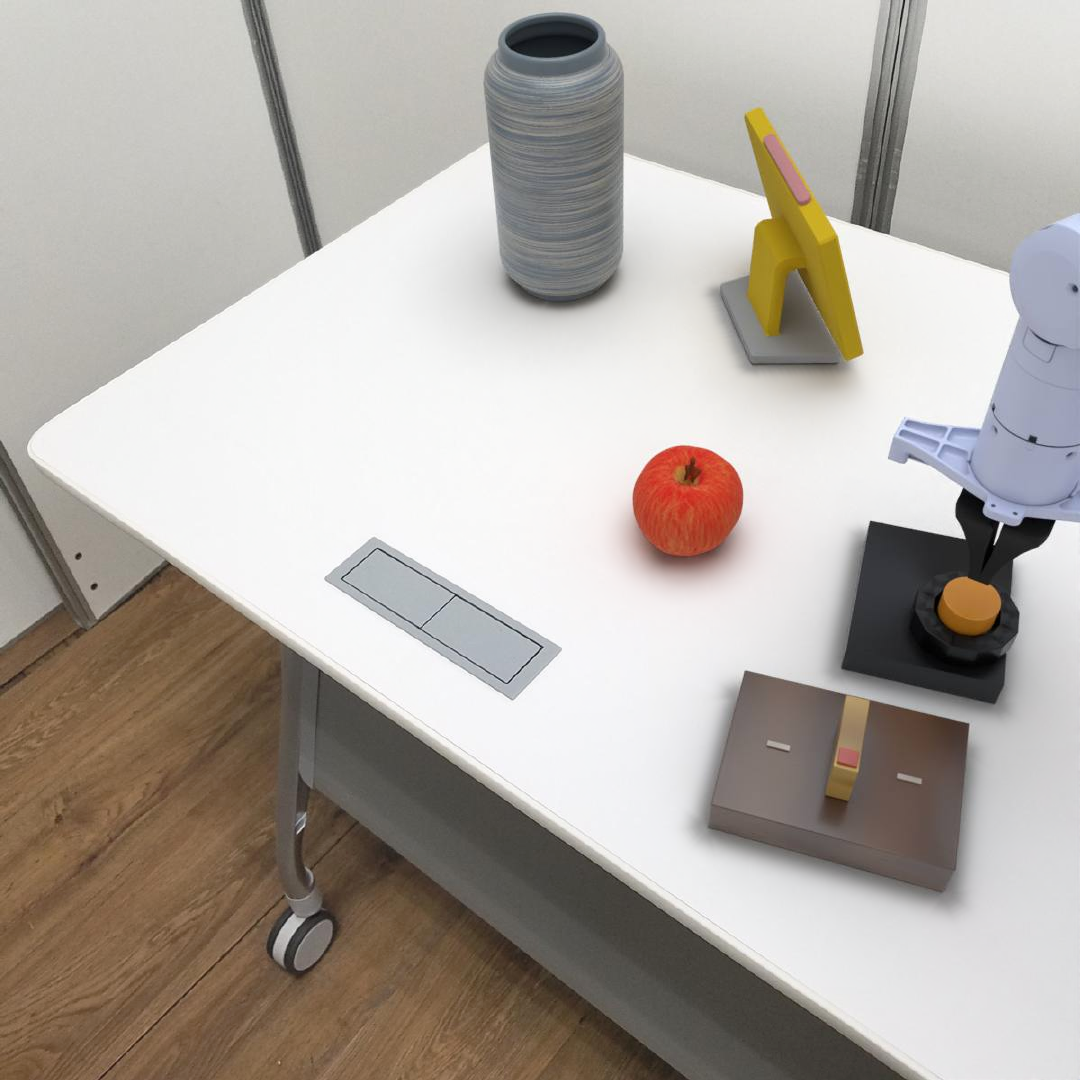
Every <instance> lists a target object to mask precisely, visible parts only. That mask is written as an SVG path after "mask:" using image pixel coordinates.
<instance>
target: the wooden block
mask: <svg viewBox="0 0 1080 1080" xmlns="http://www.w3.org/2000/svg"><path fill="white" fill-rule="evenodd" d="M849 695H850V694H847V695H846V698H845V701H844V705H843V708H842V712H841V715H840V719H839V722H838V726H837V731H836V736H835V742H834V747H833V753H832V758H831V764H830V769H829V775H828V780H827V786H826V791H825V795H827V796H831V797H834V798H838V799H842V800H846V801H849V799H850V796H851V793H852V790H853V787H854V784H855V781H856V778H857V775H858V772H859V765H860V759H861V753H862V747H863V741H864V735H865V729H866V723H867V717H868V711H869V705H870V701H869V700H870V699H868V700H866V699H867V698H864V699H861V698H862V697H860V698H857V697H858V696H856V697H853V696H854V695H851V696H849Z"/></svg>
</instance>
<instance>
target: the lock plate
mask: <svg viewBox="0 0 1080 1080" xmlns="http://www.w3.org/2000/svg"><path fill="white" fill-rule="evenodd" d="M846 695H849V696H853V697H857V698H861V699H866V700H869V701H870V705H869V711H868V717H867V723H866V729H865V735H864V741H863V747H862V753H861V759H860V765H859V772H858V775H857V778H856V781H855V784H854V787H853V790H852V793H851V796H850V799H849V801H846V800H842V799H838V798H834V797H831V796H827V795H825V791H826V786H827V780H828V775H829V769H830V764H831V758H832V753H833V747H834V742H835V736H836V731H837V726H838V722H839V719H840V715H841V712H842V708H843V705H844V701H845V698H846ZM729 726H730V728H729V731H728V734H727V738H726V742H725V746H724V750H723V754H722V758H721V762H720V766H719V770H718V774H717V778H716V781H715V786H714V790H713V794H712V798H711V801H710V807H709V813H708V821H707V827H708V828H710V829H714V830H717V831H721V832H725V833H728V834H732V835H735V836H739V837H742V838H746V839H749V840H750V839H751V840H752V841H753V840H754V841H757V842H760V843H765V844H768V845H772V846H775V847H778V848H783V849H787V850H789V851H793V852H797V853H800V854H804V855H807V856H808V855H809V856H812V857H815V858H818V859H822V860H826V861H830V862H833V863H837V864H839V865H845V866H848V867H851V868H856V869H859V870H862V871H866V872H870V873H873V874H877V875H881V876H884V877H888V878H891V879H895V880H899V881H902V882H906V883H910V884H912V885H917V886H921V887H924V888H927V889H931V890H935V891H939V892H942V893H943V892H945V890H946V889H947V887H948V885H949V884H950V881H951V880H952V878H953V877H954V874H955V872H956V870H957V861H958V852H959V851H958V849H959V839H960V829H961V818H962V809H963V797H964V787H965V776H966V775H965V774H966V766H967V765H966V764H967V755H968V745H969V735H970V723H969V722H966V721H965V722H964V721H961V720H956V719H952V718H947V717H943V716H940V715H935V714H931V713H927V712H923V711H918V710H914V709H910V708H906V707H902V706H897V705H893V704H889V703H885V702H882V701H877V700H872V699H868V698H864V697H859V696H856V695H851V694H846V693H843V692H838V691H834V690H830V689H825V688H822V687H818V686H814V685H809V684H804V683H801V682H797V681H792V680H788V679H784V678H779V677H775V676H771V675H767V674H763V673H758V672H755V671H751V670H746V669H745V670H744V672H743V676H742V680H741V684H740V688H739V692H738V696H737V699H736V703H735V706H734V711H733V715H732V720H731V722H730V725H729Z"/></svg>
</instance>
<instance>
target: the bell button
mask: <svg viewBox="0 0 1080 1080" xmlns="http://www.w3.org/2000/svg"><path fill="white" fill-rule="evenodd" d="M1000 608H1001V599H1000V596H999V594H998V592H997V591H996V590H995V589H994V587H992V586H991V585H985V584H982V583H979V582H977V581H974V580H972V579H969V578H968V577H959V578H956V579H953V580H952V581H950V582H949V583H948V584H947V585H946V586H945V588H944V591H943V593H942V596H941V599H940V602H939V604H938V614H939V617H940V619H941V621H942V622H943V623H944V624H945V625H946V626H947V627H948V628H949V629H951V630H952V631H954V632H956V633H959V634H962V635H967V636H976V635H981V634H983V633H985V632H987V631H988V630H990V629H991V628H992V626H993V624H994V622H995V620H996V617H997V615H998V613H999V610H1000Z"/></svg>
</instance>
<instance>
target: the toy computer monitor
mask: <svg viewBox="0 0 1080 1080" xmlns="http://www.w3.org/2000/svg"><path fill="white" fill-rule="evenodd" d="M743 119H744V122H745V123H744V124H745V126H746V129H747V133H748V137H749V141H750V144H751V148H752V151H753V155H754V159H755V162H756V165H757V170H758V173H759V175H760V176H759V177H760V180H761V184H762V188H763V190H764V191H763V192H764V194H765V199H766V202H767V205H768V209H769V212H770V216H771V218H764V219H762V220H761V221H759V222H758V223H757V224H756V225H755V227H754V232H753V241H752V249H751V260H750V269H749V275H746V276H743V277H739V278H735V279H733V280H728V281H725V282H722V283H721V284H720V286H719V287H720V288H719V294H720V295H721V298H722V300H723V303H724V304H725V307H726V309H727V312H728V314H729V316H730V318H731V320H732V323H733V324H734V327H735V329H736V332H737V334H738V336H739V339H740V341H741V343H742V346H743V348H744V350H745V353H746V355H747V357H748V359H749V361H750V363H751V364H838V363H839V362H840V359H841V356H842V358H843V359H844V360H845V361H846V362H849V361H852V360H854V359H856V358H859V357H861V356H863V355H864V353H865V352H864V348H863V343H862V338H861V334H860V330H859V329H860V328H859V325H858V321H857V316H856V311H855V307H854V303H853V298H852V293H851V289H850V285H849V280H848V276H847V271H846V267H845V262H844V257H843V254H842V249H841V244H840V240H839V235H838V233H837V232H836V230H835V229H834V227H833V225H832V223H831V222H830V220H829V219H828V217H827V215H826V213H825V212H824V210H823V209H822V207H821V205H820V203H819V202H818V200H817V198H816V197H815V195H814V194H813V191H812V190H811V189H810V186H809V185H808V183H807V181H806V180H805V178H804V177H803V175H802V173H801V172H800V170H799V168H798V166H797V165H796V163H795V162H794V160H793V158H792V156H791V155H790V153H789V152H788V150H787V148H786V147H785V145H784V143H783V141H782V140H781V138H780V136H779V135H778V133H777V131H776V129H775V128H774V125H773V124H772V123H771V121H770V119H769V117H767V114H766V113H765V111H764V109H763V108H762V107H761V106H758V107H756V108H753V109H751V110H749V111H747V112H745V113H744V117H743Z"/></svg>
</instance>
